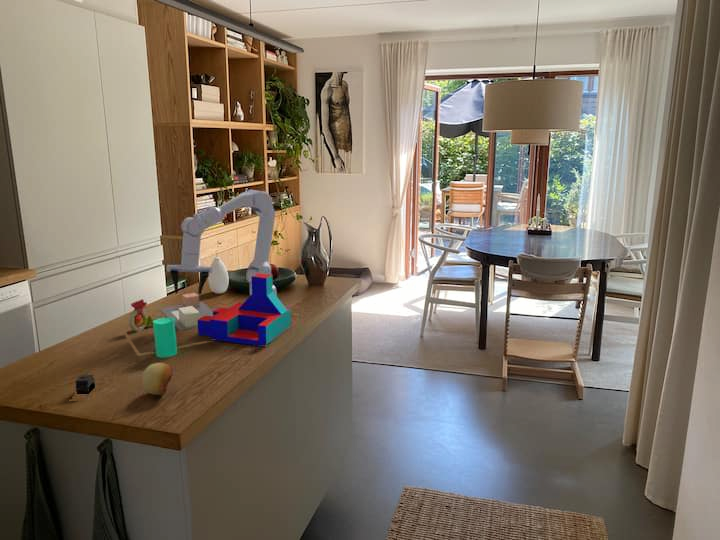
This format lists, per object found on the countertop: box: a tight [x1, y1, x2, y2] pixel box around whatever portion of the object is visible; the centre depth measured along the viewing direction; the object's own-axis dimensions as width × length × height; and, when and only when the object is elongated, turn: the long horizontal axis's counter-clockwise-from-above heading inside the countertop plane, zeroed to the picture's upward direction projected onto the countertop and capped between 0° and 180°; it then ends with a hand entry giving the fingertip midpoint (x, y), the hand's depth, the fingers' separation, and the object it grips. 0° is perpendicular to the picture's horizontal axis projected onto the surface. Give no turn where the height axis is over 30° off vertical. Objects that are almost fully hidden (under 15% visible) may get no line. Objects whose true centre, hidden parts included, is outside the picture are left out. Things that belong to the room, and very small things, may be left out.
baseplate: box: [159, 301, 214, 332], centre depth 199 cm, size 16×30×1 cm, turn 32°
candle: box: [152, 316, 178, 358], centre depth 164 cm, size 6×6×12 cm
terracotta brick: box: [182, 292, 200, 307], centre depth 210 cm, size 5×5×4 cm
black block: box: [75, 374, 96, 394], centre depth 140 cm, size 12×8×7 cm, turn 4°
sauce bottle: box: [207, 251, 230, 294], centre depth 227 cm, size 8×8×18 cm
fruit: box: [141, 362, 174, 396], centre depth 138 cm, size 8×8×8 cm
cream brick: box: [178, 306, 200, 328], centre depth 190 cm, size 5×9×4 cm, turn 32°
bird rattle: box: [128, 299, 154, 332], centre depth 184 cm, size 6×11×9 cm
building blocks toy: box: [197, 273, 291, 346], centre depth 180 cm, size 19×25×18 cm
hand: (188, 293), depth 189 cm, fingers open, 7 cm apart
